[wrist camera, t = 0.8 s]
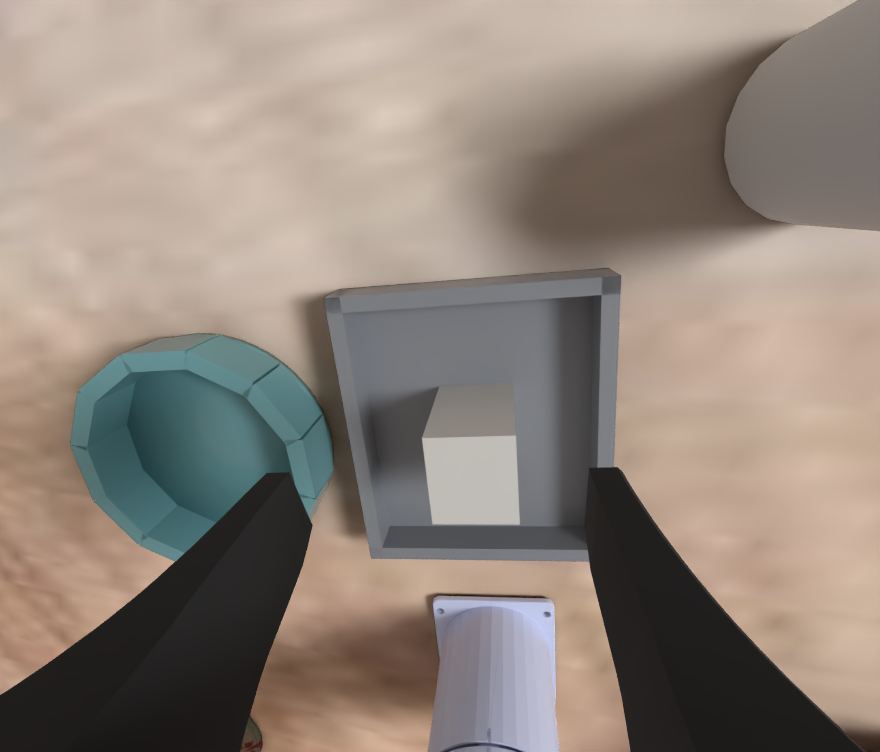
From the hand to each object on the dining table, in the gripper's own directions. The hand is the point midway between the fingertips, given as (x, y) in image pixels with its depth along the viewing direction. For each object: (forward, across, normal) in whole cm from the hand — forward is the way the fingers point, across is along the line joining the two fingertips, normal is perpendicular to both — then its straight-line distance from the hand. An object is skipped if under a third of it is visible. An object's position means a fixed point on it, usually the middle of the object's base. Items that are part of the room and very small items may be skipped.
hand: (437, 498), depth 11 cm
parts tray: (+13, 0, +8) cm, 15 cm away
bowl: (+13, +16, +9) cm, 22 cm away
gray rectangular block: (+12, 0, +8) cm, 15 cm away
